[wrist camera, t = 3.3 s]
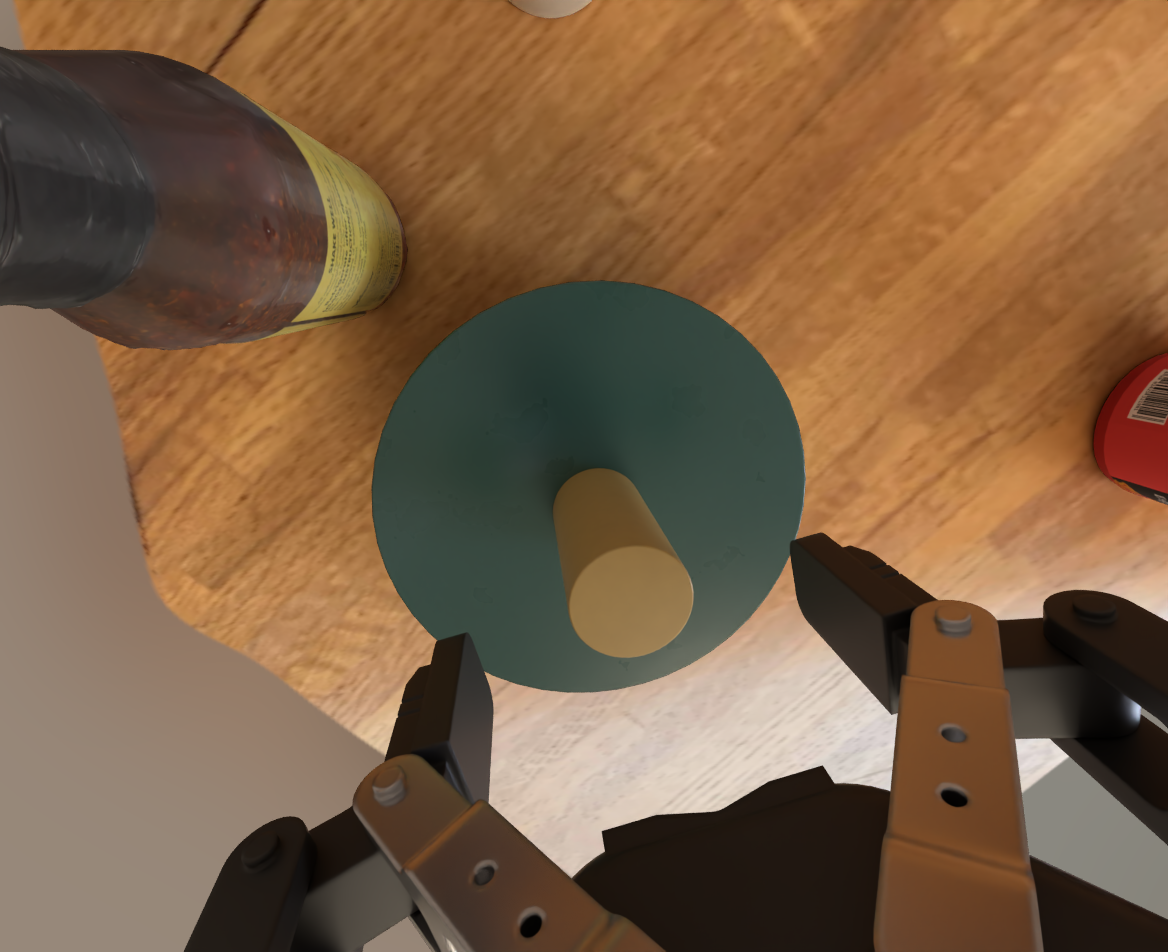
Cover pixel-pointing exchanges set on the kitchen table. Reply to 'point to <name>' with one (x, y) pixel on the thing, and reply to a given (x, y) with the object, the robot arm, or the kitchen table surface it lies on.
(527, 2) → the candle
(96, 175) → the sauce bottle
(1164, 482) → the canned food
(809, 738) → the kitchen table surface
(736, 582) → the lid
